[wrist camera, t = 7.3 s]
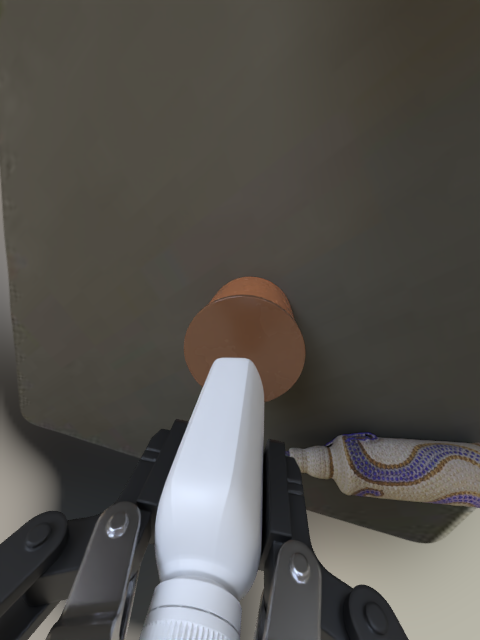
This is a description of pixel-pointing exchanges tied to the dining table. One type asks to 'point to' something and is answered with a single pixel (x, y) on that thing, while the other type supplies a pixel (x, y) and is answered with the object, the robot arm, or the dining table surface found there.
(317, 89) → the dining table surface
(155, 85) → the dining table surface
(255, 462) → the eye dropper bottle
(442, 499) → the decorative bottle
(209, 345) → the copper canister
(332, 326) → the dining table surface
